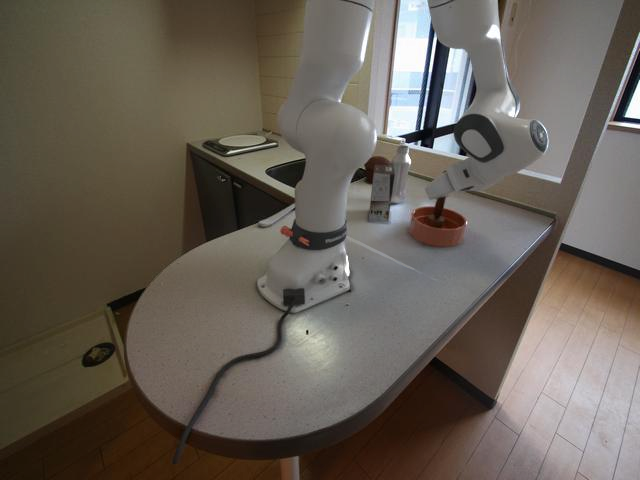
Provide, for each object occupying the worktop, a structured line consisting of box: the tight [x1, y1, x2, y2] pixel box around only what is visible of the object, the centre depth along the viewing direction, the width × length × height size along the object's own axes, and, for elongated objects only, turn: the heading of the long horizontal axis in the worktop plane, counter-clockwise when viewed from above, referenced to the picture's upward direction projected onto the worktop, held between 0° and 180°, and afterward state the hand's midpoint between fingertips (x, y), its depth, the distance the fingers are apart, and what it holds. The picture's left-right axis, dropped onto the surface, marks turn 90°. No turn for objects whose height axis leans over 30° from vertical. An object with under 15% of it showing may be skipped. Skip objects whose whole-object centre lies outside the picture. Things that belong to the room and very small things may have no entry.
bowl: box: [408, 205, 468, 248], centre depth 93 cm, size 15×15×6 cm
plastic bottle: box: [390, 144, 412, 205], centre depth 110 cm, size 6×7×20 cm
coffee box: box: [368, 165, 395, 223], centre depth 100 cm, size 9×6×16 cm
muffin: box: [363, 155, 392, 184], centre depth 132 cm, size 12×11×10 cm
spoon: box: [258, 202, 295, 228], centre depth 109 cm, size 35×8×3 cm, turn 144°
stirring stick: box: [427, 169, 447, 229], centre depth 90 cm, size 4×4×17 cm
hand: (439, 195), depth 90 cm, fingers closed on stirring stick, 2 cm apart
